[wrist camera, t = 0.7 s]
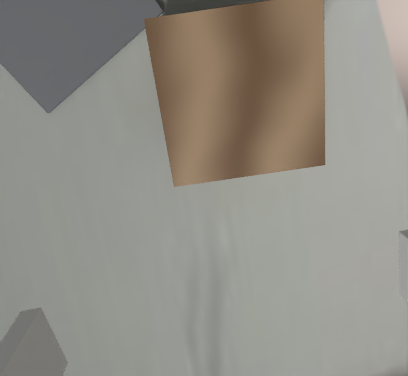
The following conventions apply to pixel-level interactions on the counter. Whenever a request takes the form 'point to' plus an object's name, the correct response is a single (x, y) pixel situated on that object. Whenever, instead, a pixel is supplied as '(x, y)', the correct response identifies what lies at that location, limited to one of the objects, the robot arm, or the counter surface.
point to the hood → (241, 88)
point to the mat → (65, 41)
